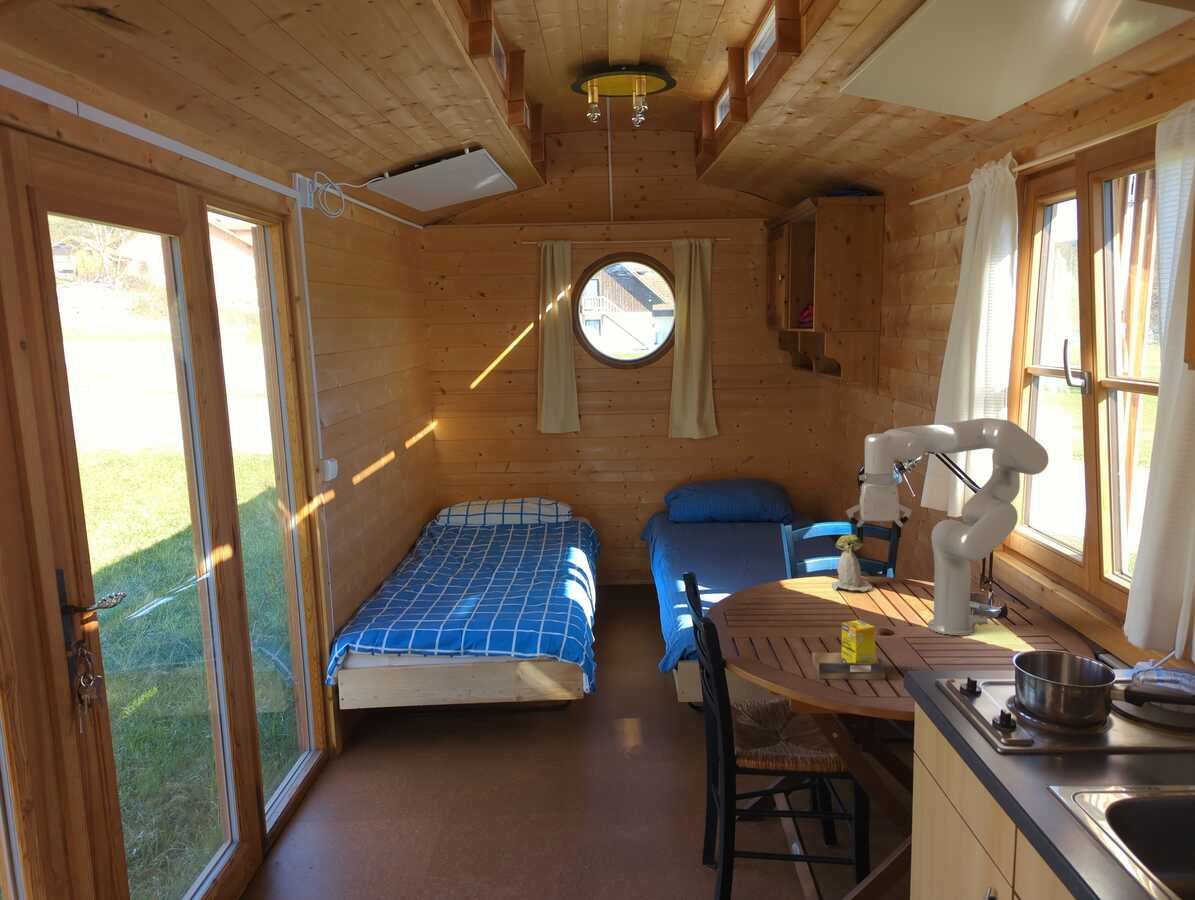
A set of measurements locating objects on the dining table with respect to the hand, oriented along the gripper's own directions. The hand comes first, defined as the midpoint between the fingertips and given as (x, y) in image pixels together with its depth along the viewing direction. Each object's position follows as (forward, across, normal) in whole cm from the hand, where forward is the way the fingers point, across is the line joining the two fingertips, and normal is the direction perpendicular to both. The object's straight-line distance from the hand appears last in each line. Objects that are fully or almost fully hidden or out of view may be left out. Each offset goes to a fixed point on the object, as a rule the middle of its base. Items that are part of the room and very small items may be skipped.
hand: (878, 540), depth 239 cm
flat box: (+28, -12, -22) cm, 38 cm away
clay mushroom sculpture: (+29, +1, +48) cm, 56 cm away
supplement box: (+27, -10, -24) cm, 37 cm away
